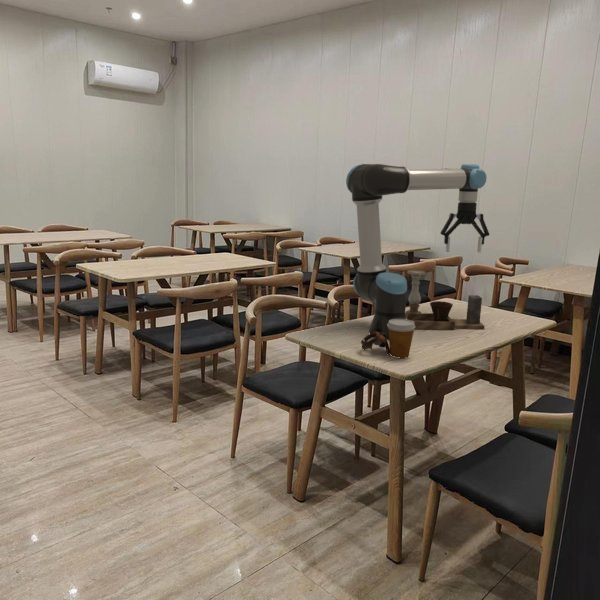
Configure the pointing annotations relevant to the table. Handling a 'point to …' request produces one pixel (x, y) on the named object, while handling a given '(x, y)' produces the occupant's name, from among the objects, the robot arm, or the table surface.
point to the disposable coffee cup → (400, 336)
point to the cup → (440, 310)
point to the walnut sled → (450, 324)
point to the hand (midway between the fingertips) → (463, 252)
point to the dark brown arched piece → (376, 341)
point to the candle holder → (414, 291)
